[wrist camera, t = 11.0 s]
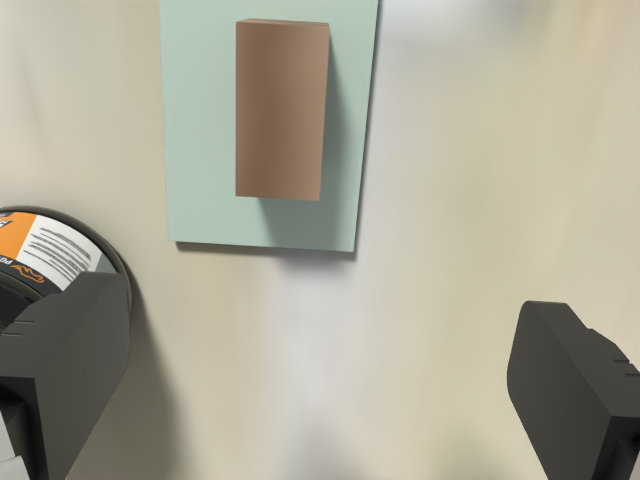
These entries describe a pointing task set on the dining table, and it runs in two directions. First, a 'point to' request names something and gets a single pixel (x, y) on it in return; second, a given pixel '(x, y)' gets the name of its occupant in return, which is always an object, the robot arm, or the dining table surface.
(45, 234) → the supplement container
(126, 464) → the dining table surface
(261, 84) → the block
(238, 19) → the pin plate
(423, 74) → the dining table surface
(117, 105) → the dining table surface
